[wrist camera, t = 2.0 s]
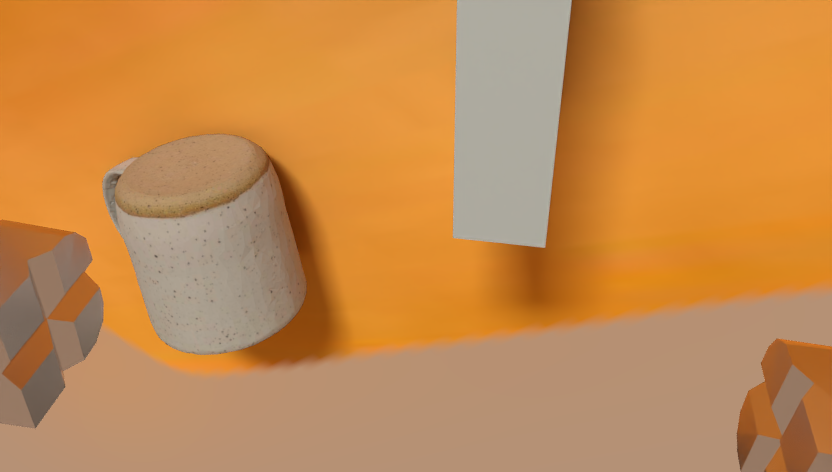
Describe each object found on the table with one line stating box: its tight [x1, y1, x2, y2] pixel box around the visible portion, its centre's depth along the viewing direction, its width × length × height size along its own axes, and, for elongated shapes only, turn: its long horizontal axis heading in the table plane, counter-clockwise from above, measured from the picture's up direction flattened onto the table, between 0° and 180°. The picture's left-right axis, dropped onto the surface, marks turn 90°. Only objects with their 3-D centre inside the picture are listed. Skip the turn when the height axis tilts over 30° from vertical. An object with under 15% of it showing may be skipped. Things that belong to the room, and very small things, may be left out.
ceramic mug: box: [102, 134, 307, 355], centre depth 37 cm, size 11×8×8 cm
